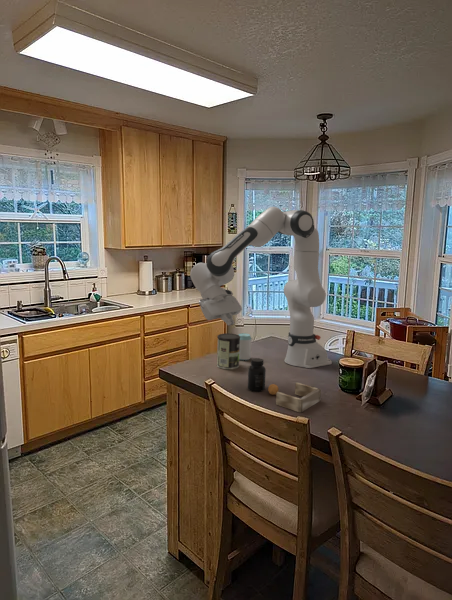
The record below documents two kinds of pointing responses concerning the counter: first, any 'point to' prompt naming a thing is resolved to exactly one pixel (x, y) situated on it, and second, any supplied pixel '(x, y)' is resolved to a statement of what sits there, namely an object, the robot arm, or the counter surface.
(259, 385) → the supplement bottle
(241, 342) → the teal lidded jar
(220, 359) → the coffee can
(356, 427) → the counter surface
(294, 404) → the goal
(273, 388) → the ball
